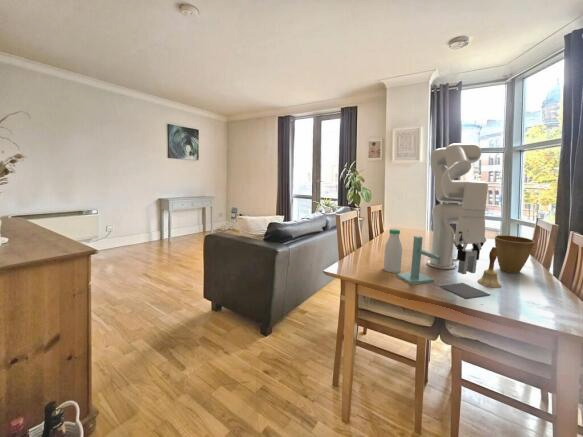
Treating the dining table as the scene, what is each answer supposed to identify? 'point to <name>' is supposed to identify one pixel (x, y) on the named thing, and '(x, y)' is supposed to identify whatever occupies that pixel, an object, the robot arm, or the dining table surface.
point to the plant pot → (512, 252)
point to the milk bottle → (393, 252)
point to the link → (468, 262)
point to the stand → (417, 264)
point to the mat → (464, 290)
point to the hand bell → (490, 272)
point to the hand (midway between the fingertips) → (467, 259)
